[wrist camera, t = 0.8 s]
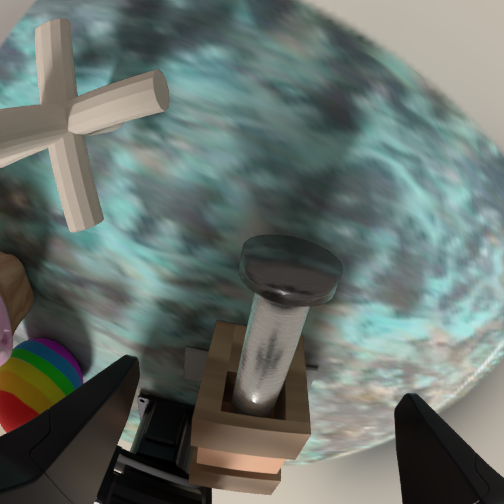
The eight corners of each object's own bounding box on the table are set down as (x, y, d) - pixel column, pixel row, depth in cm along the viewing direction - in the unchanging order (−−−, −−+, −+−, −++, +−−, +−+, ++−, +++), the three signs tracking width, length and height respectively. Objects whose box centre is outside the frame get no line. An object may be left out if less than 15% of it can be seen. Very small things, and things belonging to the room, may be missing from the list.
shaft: (262, 443, 21) (260, 486, 18) (211, 435, 21) (203, 478, 18) (333, 244, 14) (352, 290, 11) (246, 228, 14) (237, 271, 11)
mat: (304, 395, 24) (305, 397, 24) (184, 376, 24) (183, 378, 24) (316, 368, 23) (317, 370, 23) (186, 346, 23) (185, 349, 22)
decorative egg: (63, 392, 28) (25, 460, 19) (15, 336, 25) (-37, 400, 16) (109, 382, 26) (68, 467, 17) (53, 316, 23) (-11, 396, 14)
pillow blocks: (273, 413, 25) (270, 495, 18) (205, 402, 25) (188, 483, 18) (302, 334, 21) (310, 434, 14) (216, 320, 21) (192, 418, 14)
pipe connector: (180, 15, 13) (90, -60, 4) (206, 181, 17) (137, 261, 8) (41, 70, 15) (-79, 75, 5) (67, 208, 19) (-38, 280, 10)
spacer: (277, 415, 21) (276, 474, 17) (208, 404, 21) (196, 462, 17) (285, 396, 20) (285, 458, 16) (211, 384, 20) (198, 446, 16)
